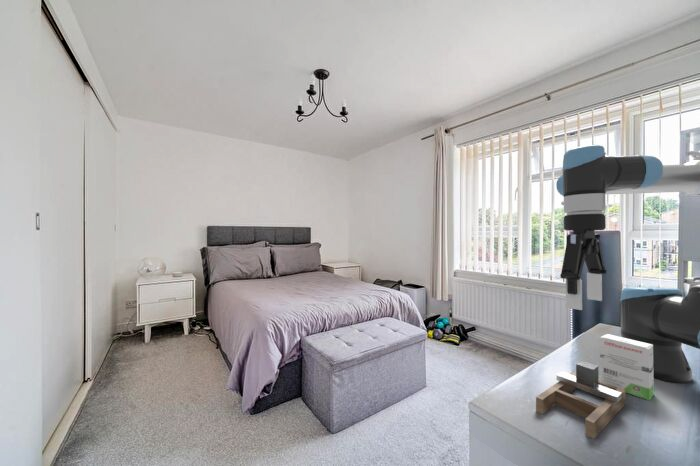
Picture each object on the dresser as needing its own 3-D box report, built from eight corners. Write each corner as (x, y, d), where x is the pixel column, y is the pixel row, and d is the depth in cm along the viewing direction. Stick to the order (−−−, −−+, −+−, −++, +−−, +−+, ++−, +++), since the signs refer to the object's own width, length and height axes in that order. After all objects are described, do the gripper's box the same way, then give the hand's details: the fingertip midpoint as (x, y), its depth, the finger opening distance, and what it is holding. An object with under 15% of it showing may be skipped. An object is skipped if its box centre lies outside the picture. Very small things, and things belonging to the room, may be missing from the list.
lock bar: (562, 376, 66) (562, 354, 66) (621, 398, 57) (621, 373, 57) (556, 380, 64) (556, 357, 64) (617, 403, 56) (617, 377, 56)
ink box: (654, 394, 64) (654, 343, 64) (649, 401, 61) (649, 348, 61) (606, 378, 71) (606, 332, 71) (599, 383, 69) (599, 336, 69)
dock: (573, 384, 68) (573, 371, 68) (625, 403, 60) (625, 390, 60) (536, 411, 58) (536, 396, 58) (593, 439, 50) (593, 422, 50)
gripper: (582, 216, 75) (583, 294, 75) (542, 213, 61) (543, 309, 61) (620, 214, 69) (621, 299, 69) (585, 210, 55) (586, 317, 55)
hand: (584, 304), depth 65 cm, fingers open, 13 cm apart
